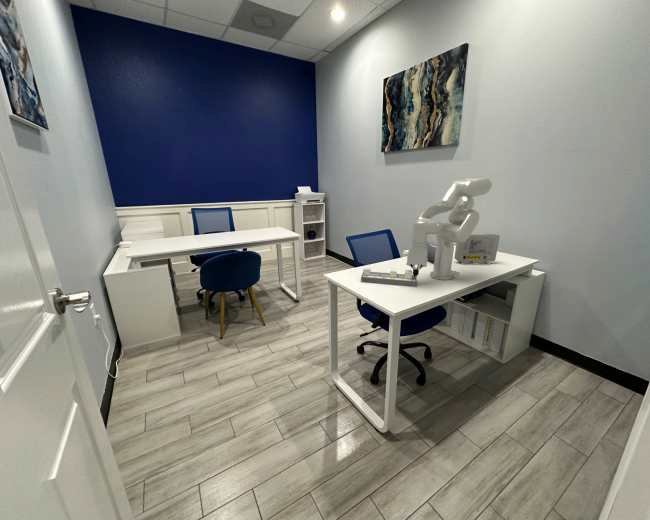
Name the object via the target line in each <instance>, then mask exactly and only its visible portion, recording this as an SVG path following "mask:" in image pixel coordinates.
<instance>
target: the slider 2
mask: <svg viewBox="0 0 650 520" xmlns="http://www.w3.org/2000/svg"><path fill="white" fill-rule="evenodd" d="M404 274H405V278H406V279H411V278H412V275H413V269H404Z"/></svg>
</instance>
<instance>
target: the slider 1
mask: <svg viewBox="0 0 650 520" xmlns="http://www.w3.org/2000/svg"><path fill="white" fill-rule="evenodd" d="M370 272H371V266H365V265H364V267H363V271H362V273H363V275H370Z"/></svg>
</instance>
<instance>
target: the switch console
mask: <svg viewBox="0 0 650 520" xmlns="http://www.w3.org/2000/svg"><path fill="white" fill-rule="evenodd" d="M360 283H371V284H381V285H392V286H403V287H404V286H405V287H414V288H417V286H418V280H417V277H416V276H415V277H414V275H413V274H412V278H411V279H406V278H405V273H404V274H403V273H397V278H394V277H390V272H378V271H370V275H363V272H362V274H361V276H360Z"/></svg>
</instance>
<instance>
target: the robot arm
mask: <svg viewBox="0 0 650 520" xmlns="http://www.w3.org/2000/svg"><path fill="white" fill-rule="evenodd" d="M491 189H492V181H491V179H489V178H487V177H466V178H465V177H464V178H462V179H457V180H453V181H452V182H450V184H449V185H448V186H447V188H446V190H445V191H444V193H443V194H442V196H440V198H439V200H437V202H436V201H435V203H433V204H431V205H429V206H428V207H427V208H426V209H424V210H423V211H422V213H421V214H420V216H419V217H418V218H417V220H414V221H413V226H412V235H411V244H410V245H409V247H408V251H407V257H406V264H405V265H406V266H408V267H411V269H412V275H414V277H415V276H416V278H417V277H418V276H419V272H420V270H421V269H422V268H427V266H428V264H427V263H428V260H427V246H426V245H430V242H429V241H427V240H428V235H435V237H436V239H435V240H436V244H435V247H436V252H435V260H434V263H433V268H432V269H433V270H432V271H431V272H430V273H429V276H430V277H431V278H432V279H437V280H442V281H449V280H453V278H454V276H460V271H456V270H452V266H453V259H454V253H455V251H454V250H455V247H454V246H455V245H454V243H464V242H465V241H466V240H467V239H468V238H469V236H470V235H471V234H473V232H474V230H475V228H476V227H477V226H478V224H479V222H480V212H478V211H477V210H475V209H473V208H474V206H475V201H474V197H478V196H483V195H486V194H487V193H489V192H490V191H491ZM450 211H451V212H450ZM447 212H450V213H449V214H448V218H447V219H448V222H449V223H448V222H441V221H440V220H437V219H432V218H434V217H435V216H437V215H440V214H443V213H447ZM416 265H417V266H416Z"/></svg>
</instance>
